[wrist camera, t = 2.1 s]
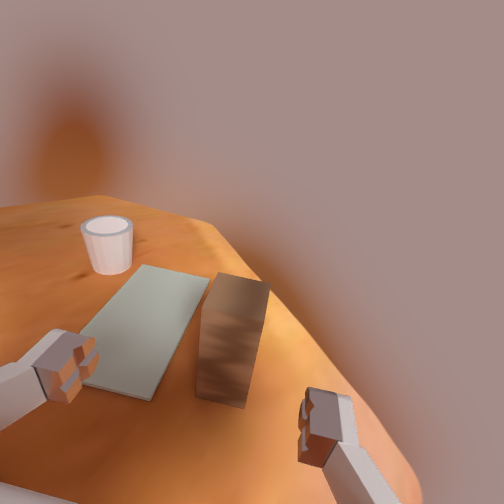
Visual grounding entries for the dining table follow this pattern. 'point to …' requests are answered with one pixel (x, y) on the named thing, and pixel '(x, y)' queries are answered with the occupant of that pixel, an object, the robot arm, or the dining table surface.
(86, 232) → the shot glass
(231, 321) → the walnut block
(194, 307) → the mat
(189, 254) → the dining table surface
